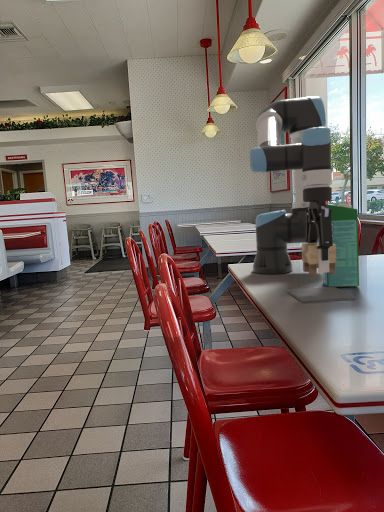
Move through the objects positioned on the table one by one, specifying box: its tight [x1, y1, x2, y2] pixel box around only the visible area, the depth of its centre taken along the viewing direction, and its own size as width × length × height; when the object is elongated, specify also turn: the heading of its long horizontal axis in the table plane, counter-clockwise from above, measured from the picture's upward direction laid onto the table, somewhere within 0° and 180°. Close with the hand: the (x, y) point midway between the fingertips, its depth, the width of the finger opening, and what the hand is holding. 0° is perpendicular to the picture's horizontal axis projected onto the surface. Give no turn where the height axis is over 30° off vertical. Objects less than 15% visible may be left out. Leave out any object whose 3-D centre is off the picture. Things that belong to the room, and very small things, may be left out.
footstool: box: [301, 243, 336, 276], centre depth 107 cm, size 7×7×8 cm
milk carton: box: [322, 202, 360, 288], centre depth 118 cm, size 9×9×25 cm
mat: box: [287, 286, 356, 304], centre depth 108 cm, size 14×14×1 cm
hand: (318, 269), depth 107 cm, fingers closed on footstool, 7 cm apart
